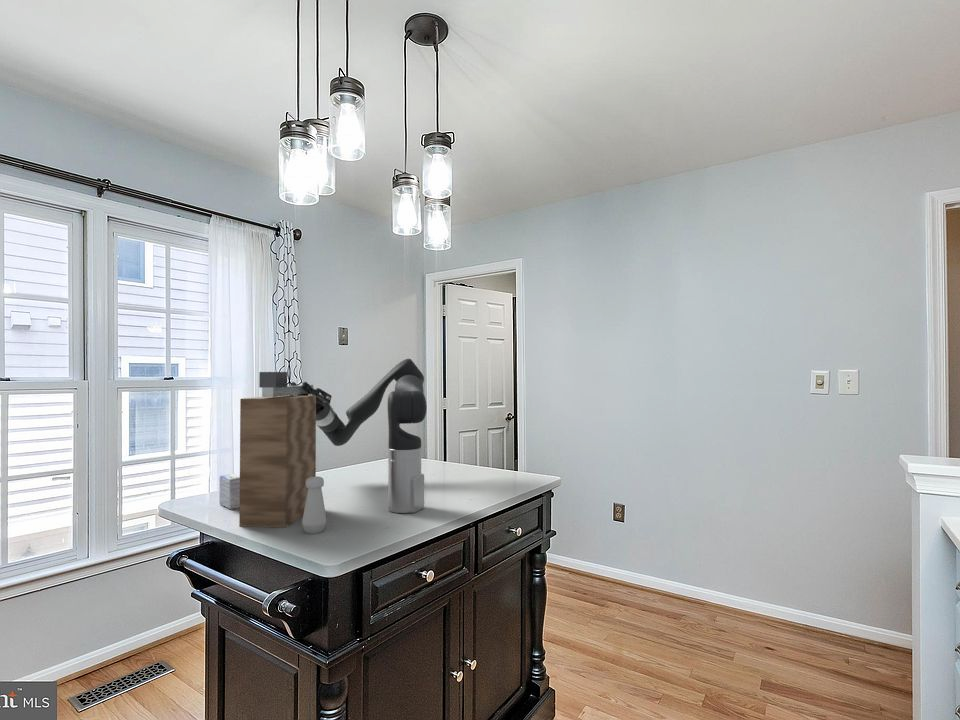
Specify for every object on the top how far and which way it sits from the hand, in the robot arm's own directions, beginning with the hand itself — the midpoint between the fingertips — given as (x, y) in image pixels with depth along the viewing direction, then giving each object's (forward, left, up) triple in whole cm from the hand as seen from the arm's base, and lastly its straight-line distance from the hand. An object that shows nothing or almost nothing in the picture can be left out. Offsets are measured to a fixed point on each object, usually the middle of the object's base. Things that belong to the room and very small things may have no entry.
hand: (298, 384), depth 148 cm
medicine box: (+18, +6, -35) cm, 40 cm away
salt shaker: (-20, +17, -35) cm, 44 cm away
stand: (-3, +10, -35) cm, 37 cm away
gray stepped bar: (-1, +5, -3) cm, 6 cm away
